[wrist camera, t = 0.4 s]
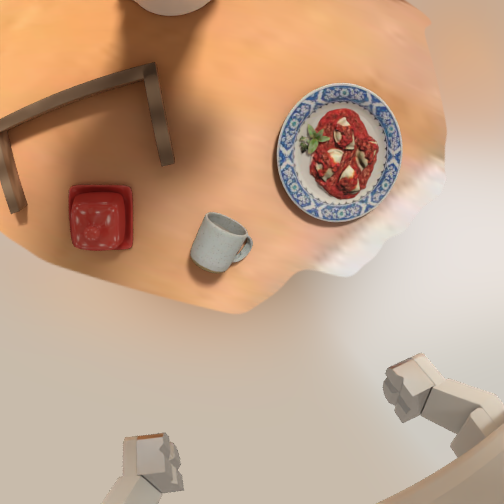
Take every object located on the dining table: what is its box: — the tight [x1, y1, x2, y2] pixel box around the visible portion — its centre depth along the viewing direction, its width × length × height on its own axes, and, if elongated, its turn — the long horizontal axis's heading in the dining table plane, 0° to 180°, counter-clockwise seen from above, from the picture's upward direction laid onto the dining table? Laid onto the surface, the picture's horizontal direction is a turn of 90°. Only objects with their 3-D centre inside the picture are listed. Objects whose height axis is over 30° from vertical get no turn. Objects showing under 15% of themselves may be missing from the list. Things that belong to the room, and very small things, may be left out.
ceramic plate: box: [277, 83, 402, 222], centre depth 54 cm, size 26×26×3 cm
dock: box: [0, 62, 175, 214], centre depth 42 cm, size 16×30×4 cm, turn 98°
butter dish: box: [69, 185, 133, 251], centre depth 47 cm, size 12×12×8 cm
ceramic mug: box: [190, 212, 253, 273], centre depth 54 cm, size 11×8×8 cm
